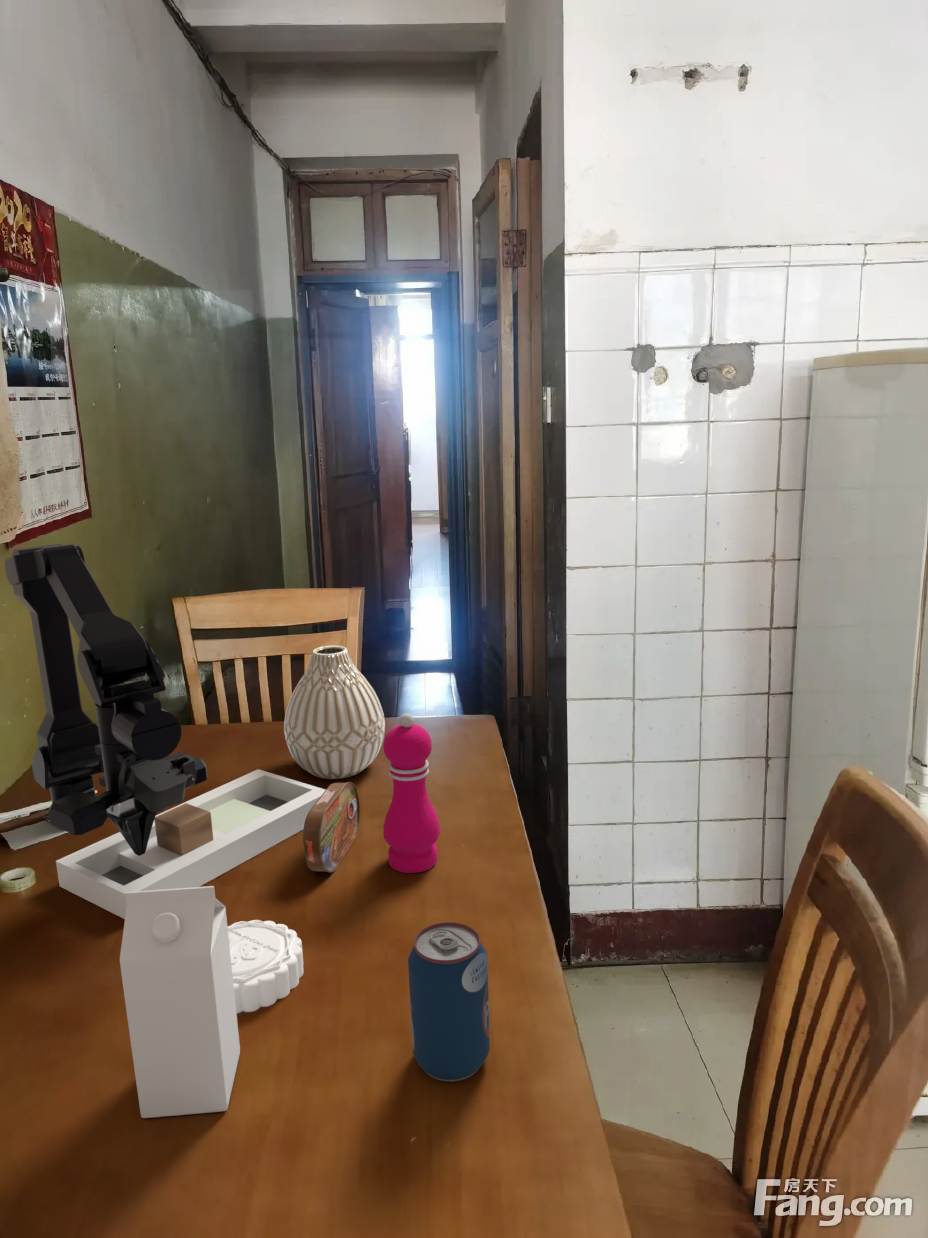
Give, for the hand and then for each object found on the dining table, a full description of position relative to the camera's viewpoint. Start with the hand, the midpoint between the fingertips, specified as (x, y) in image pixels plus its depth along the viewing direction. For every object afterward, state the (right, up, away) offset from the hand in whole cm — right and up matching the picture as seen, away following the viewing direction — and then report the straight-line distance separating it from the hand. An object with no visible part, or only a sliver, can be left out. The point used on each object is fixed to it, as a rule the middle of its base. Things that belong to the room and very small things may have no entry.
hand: (140, 854), depth 112 cm
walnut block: (+4, 0, +6) cm, 7 cm away
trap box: (+6, -1, +9) cm, 10 cm away
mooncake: (+18, -8, -19) cm, 27 cm away
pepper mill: (+34, -2, +3) cm, 34 cm away
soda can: (+39, -10, -31) cm, 51 cm away
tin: (+23, -2, +6) cm, 24 cm away
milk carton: (+17, -12, -34) cm, 39 cm away
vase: (+20, +5, +33) cm, 39 cm away
